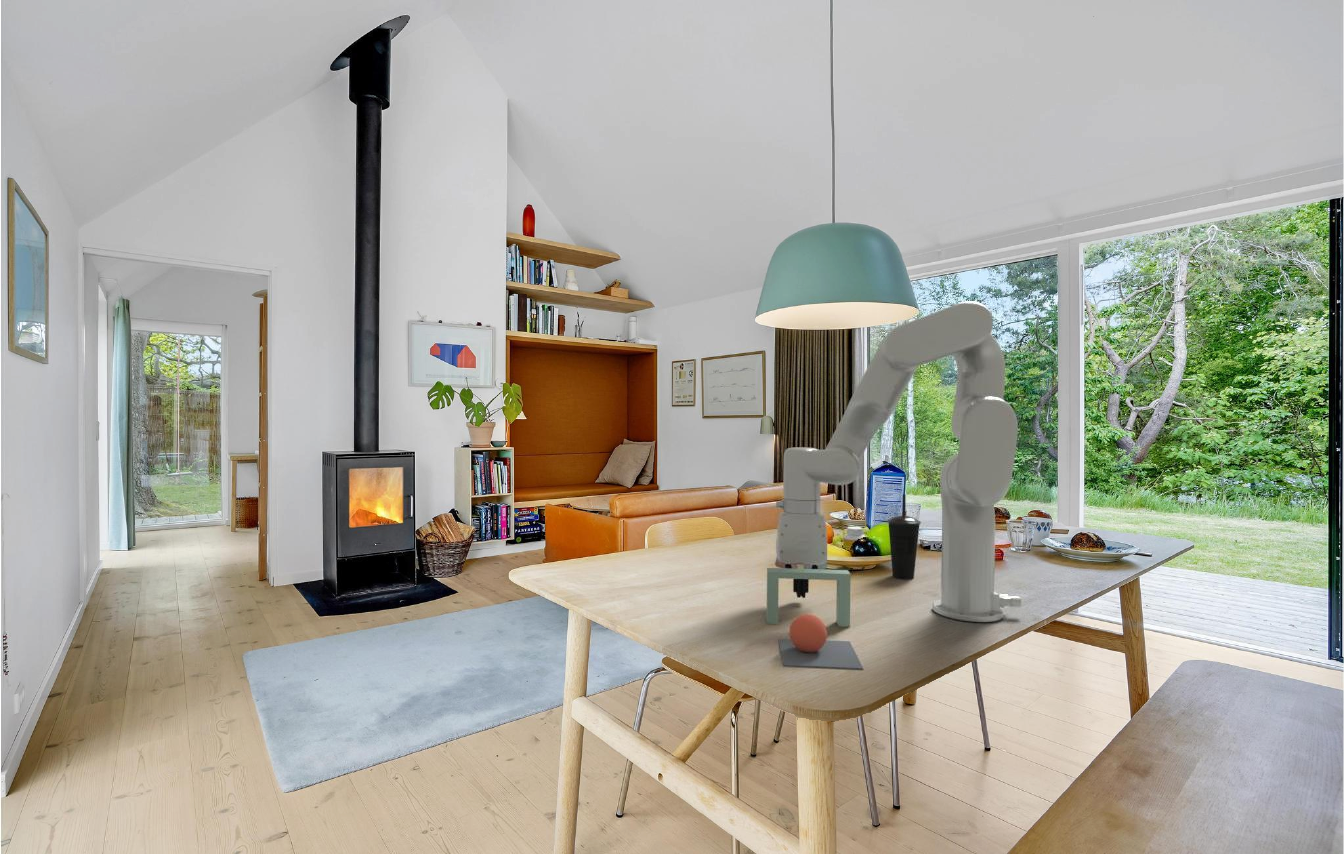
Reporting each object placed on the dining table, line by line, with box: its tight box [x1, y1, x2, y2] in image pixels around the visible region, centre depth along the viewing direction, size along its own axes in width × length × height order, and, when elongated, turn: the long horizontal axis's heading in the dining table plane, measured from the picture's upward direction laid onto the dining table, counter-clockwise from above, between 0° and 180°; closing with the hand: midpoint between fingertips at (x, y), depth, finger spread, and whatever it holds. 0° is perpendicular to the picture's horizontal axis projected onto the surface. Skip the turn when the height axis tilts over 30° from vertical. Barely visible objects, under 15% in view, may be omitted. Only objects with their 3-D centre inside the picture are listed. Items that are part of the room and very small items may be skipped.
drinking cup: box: [886, 493, 922, 580], centre depth 156 cm, size 8×8×20 cm
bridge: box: [766, 567, 851, 628], centre depth 120 cm, size 3×15×10 cm, turn 84°
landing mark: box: [777, 637, 864, 671], centre depth 104 cm, size 12×12×1 cm
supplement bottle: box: [842, 526, 866, 570], centre depth 166 cm, size 6×6×10 cm
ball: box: [788, 613, 828, 653], centre depth 105 cm, size 6×6×6 cm
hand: (800, 595), depth 133 cm, fingers closed
